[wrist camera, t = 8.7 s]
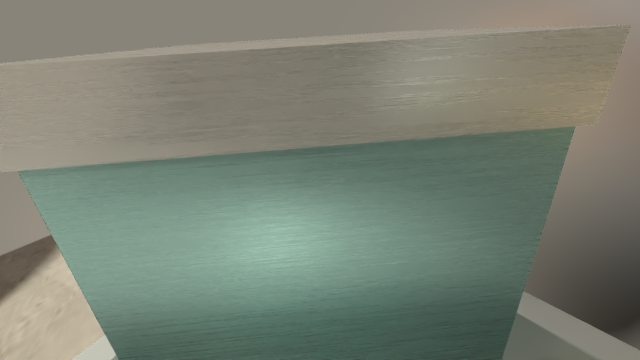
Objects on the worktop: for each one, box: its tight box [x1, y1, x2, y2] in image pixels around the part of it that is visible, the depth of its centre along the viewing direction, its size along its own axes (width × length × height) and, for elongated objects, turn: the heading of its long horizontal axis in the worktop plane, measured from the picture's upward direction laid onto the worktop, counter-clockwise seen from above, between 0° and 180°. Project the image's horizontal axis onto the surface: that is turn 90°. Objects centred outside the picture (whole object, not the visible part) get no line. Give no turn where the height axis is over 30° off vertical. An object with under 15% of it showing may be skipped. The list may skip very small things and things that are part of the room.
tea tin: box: [0, 25, 631, 360], centre depth 7 cm, size 5×5×12 cm
